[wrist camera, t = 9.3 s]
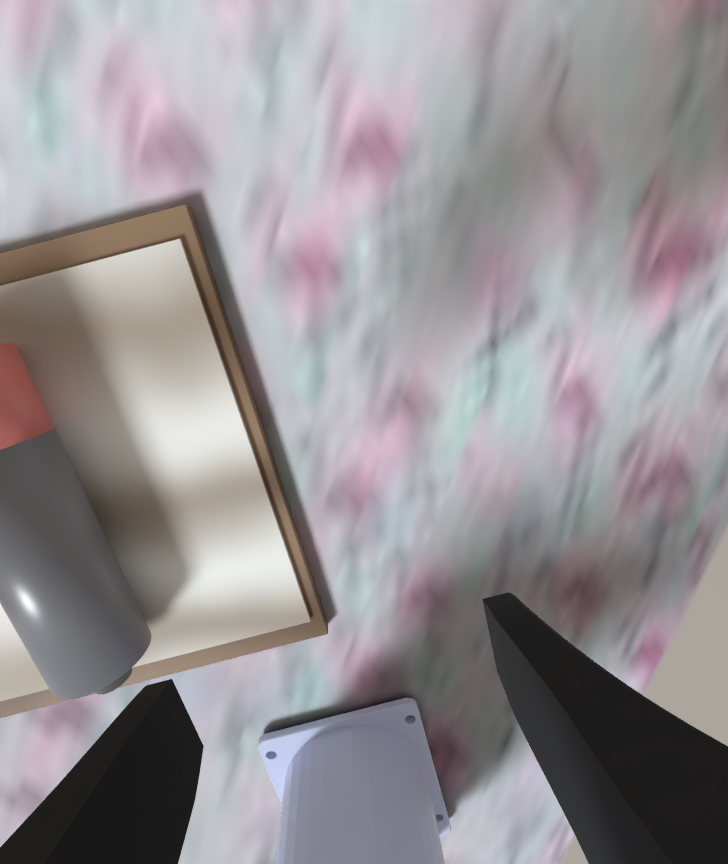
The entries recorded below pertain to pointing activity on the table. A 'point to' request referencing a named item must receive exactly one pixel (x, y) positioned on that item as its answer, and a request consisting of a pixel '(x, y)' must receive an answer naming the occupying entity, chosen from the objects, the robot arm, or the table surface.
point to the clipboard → (158, 444)
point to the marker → (58, 554)
